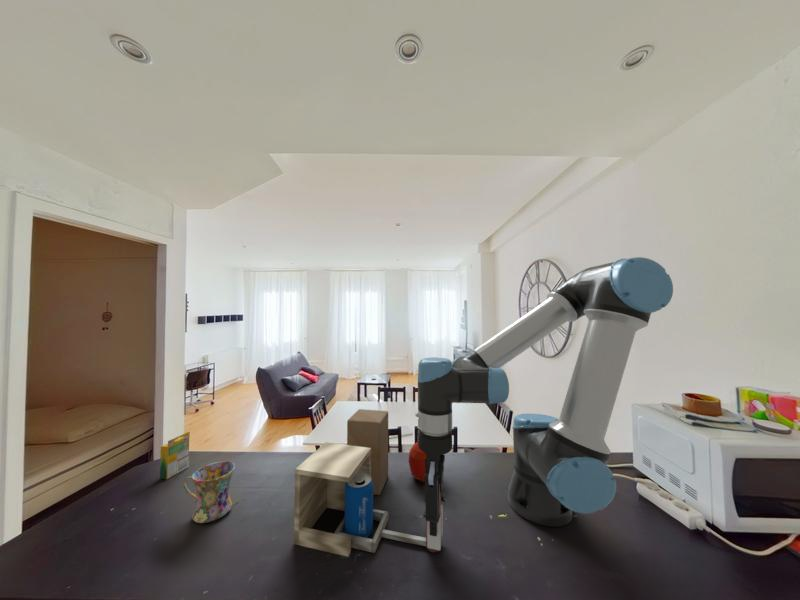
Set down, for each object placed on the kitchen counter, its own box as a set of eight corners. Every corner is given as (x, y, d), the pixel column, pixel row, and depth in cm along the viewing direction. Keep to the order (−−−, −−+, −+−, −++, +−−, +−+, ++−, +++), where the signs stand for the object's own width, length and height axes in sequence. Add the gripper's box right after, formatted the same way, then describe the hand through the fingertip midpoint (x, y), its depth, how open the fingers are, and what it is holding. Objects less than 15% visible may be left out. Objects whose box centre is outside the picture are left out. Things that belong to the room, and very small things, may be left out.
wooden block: (380, 496, 77) (380, 422, 78) (346, 491, 79) (346, 420, 80) (388, 475, 87) (388, 410, 88) (358, 472, 89) (358, 408, 90)
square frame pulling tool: (443, 530, 64) (442, 481, 65) (438, 567, 55) (437, 509, 56) (351, 513, 70) (352, 468, 71) (333, 543, 61) (334, 491, 61)
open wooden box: (370, 512, 71) (371, 447, 72) (348, 556, 58) (348, 477, 59) (324, 503, 74) (325, 442, 75) (293, 544, 61) (295, 469, 62)
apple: (419, 465, 93) (419, 430, 93) (447, 475, 87) (447, 437, 88) (402, 480, 85) (402, 441, 85) (431, 492, 79) (431, 450, 79)
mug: (241, 500, 75) (242, 460, 76) (221, 526, 66) (222, 480, 67) (194, 502, 75) (196, 461, 75) (168, 529, 65) (170, 482, 66)
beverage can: (348, 548, 60) (349, 490, 61) (341, 527, 66) (342, 475, 66) (376, 538, 63) (377, 483, 63) (367, 518, 69) (368, 468, 69)
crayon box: (181, 466, 93) (183, 430, 93) (189, 467, 92) (190, 431, 93) (158, 478, 85) (160, 440, 86) (166, 480, 85) (168, 441, 85)
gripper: (424, 414, 70) (424, 511, 69) (410, 444, 54) (410, 569, 53) (454, 417, 68) (455, 517, 67) (449, 448, 52) (449, 579, 51)
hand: (435, 540), depth 60 cm, fingers closed on square frame pulling tool, 3 cm apart
